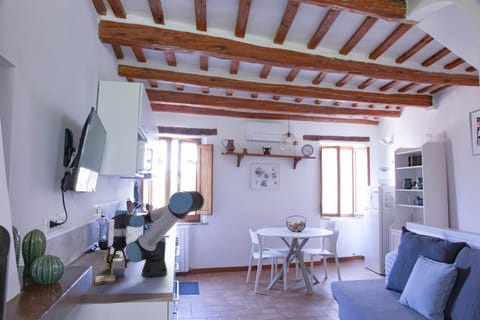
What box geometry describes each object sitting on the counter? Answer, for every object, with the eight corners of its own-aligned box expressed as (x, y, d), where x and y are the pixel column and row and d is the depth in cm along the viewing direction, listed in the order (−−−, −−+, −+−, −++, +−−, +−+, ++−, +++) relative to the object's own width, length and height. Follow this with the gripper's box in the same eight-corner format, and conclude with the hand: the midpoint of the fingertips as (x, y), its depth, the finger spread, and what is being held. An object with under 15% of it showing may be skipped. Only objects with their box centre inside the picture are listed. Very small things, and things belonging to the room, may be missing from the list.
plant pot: (103, 271, 199) (104, 257, 199) (103, 267, 207) (104, 254, 208) (119, 270, 202) (120, 256, 203) (119, 266, 211) (120, 253, 212)
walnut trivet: (115, 277, 189) (115, 274, 189) (116, 282, 178) (116, 280, 179) (94, 278, 184) (95, 276, 184) (94, 284, 174) (94, 282, 174)
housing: (122, 272, 198) (123, 257, 198) (123, 276, 191) (124, 260, 192) (112, 273, 195) (113, 258, 196) (112, 276, 189) (113, 261, 189)
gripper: (135, 233, 202) (133, 271, 200) (102, 234, 194) (100, 273, 193) (137, 235, 195) (134, 274, 194) (103, 236, 188) (100, 277, 186)
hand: (117, 274), depth 193 cm, fingers closed on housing, 6 cm apart
